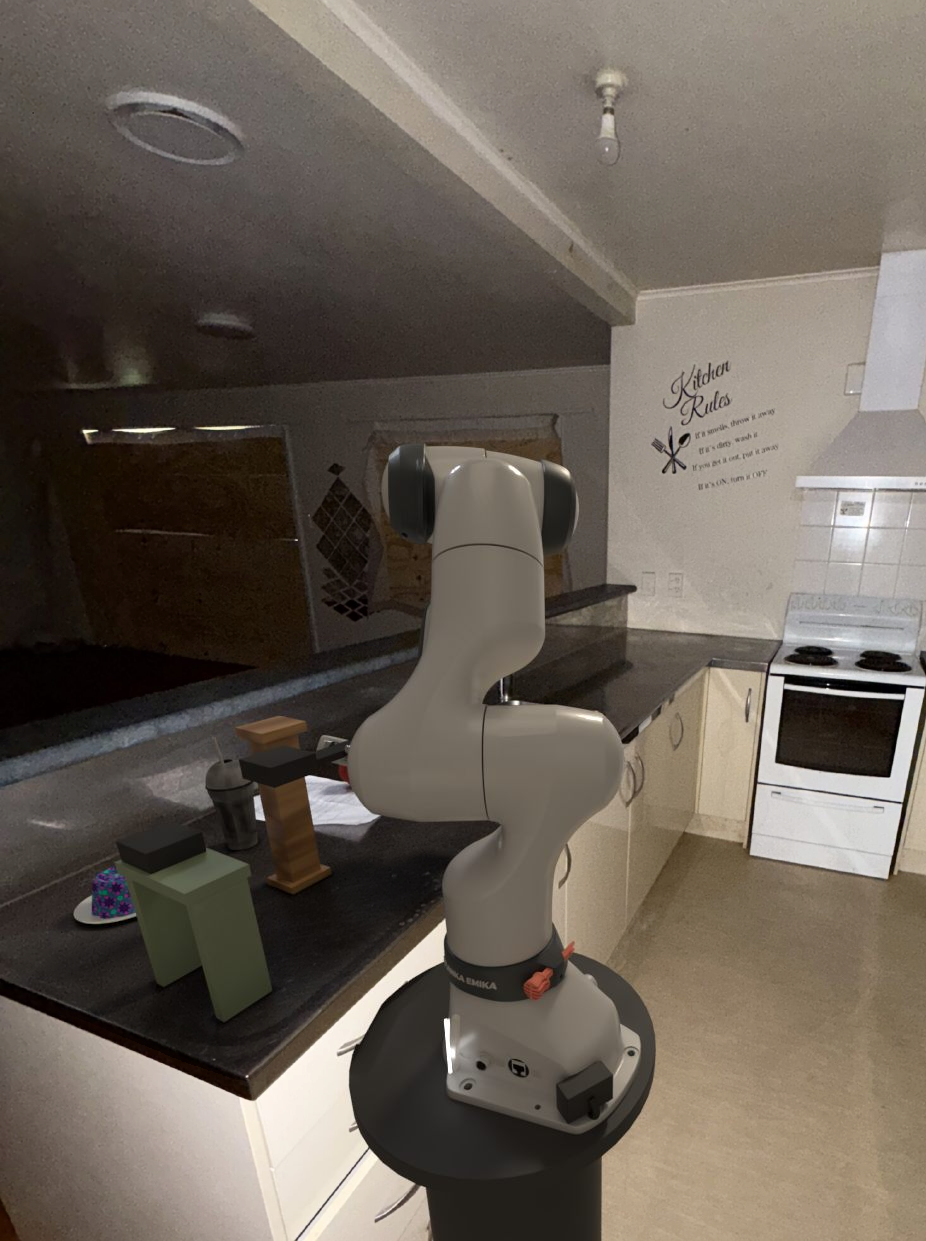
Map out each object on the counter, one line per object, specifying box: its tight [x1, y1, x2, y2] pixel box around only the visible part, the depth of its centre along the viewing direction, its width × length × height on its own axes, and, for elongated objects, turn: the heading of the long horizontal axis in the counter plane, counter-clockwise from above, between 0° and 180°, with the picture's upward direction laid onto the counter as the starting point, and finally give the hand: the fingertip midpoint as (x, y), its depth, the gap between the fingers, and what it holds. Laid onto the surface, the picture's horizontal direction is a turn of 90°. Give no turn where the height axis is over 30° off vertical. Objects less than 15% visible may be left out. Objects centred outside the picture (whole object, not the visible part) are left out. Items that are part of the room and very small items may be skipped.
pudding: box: [72, 866, 137, 925], centre depth 92 cm, size 12×12×5 cm
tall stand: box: [234, 715, 333, 895], centre depth 95 cm, size 6×7×26 cm
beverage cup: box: [204, 736, 259, 851], centre depth 107 cm, size 7×7×20 cm
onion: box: [338, 765, 351, 785], centre depth 134 cm, size 6×6×8 cm
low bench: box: [114, 847, 273, 1023], centre depth 73 cm, size 14×7×17 cm, turn 61°
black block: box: [115, 820, 207, 874], centre depth 71 cm, size 6×6×2 cm
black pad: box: [238, 739, 352, 788], centre depth 80 cm, size 6×14×2 cm, turn 151°
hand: (336, 748), depth 83 cm, fingers closed on black pad, 3 cm apart
